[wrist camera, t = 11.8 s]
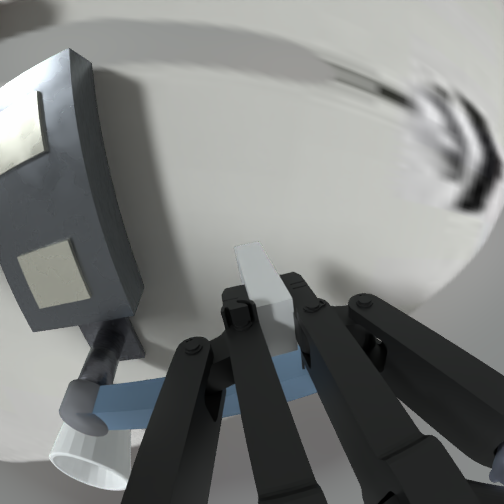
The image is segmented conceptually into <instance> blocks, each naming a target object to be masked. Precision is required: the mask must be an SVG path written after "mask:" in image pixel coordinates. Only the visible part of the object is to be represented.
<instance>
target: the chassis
mask: <svg viewBox="0 0 504 504" xmlns="http://www.w3.org/2000/svg"><path fill="white" fill-rule="evenodd" d="M0 264H1V266H2V269H3V271H4V274H5V276H6V279H7V281H8V283H9V285H10V288H11V290H12V292H13V294H14V296H15V298H16V301H17V303H18V305H19V307H20V309H21V311H22V313H23V314H24V316H25V318H26V320H27V322H28V324H29V326H30V327H31V329H32V331H33V332H38V331H45V330H51V329H58V328H64V327H71V326H77V325H83V324H89V323H95V322H101V321H107V320H112V319H118V318H123V317H129V316H134V315H135V312H136V309H137V306H138V303H139V300H140V298H141V295H142V292H143V289H144V284H143V282H142V279H141V276H140V273H139V271H138V268H137V265H136V262H135V259H134V256H133V253H132V250H131V247H130V244H129V241H128V238H127V234H126V231H125V228H124V224H123V221H122V218H121V214H120V211H119V207H118V203H117V200H116V196H115V192H114V188H113V184H112V180H111V176H110V172H109V167H108V163H107V158H106V154H105V149H104V144H103V139H102V133H101V128H100V122H99V116H98V110H97V103H96V96H95V89H94V80H93V71H92V63H91V62H89V61H88V60H87V59H85V58H84V57H82V56H81V55H79V54H78V53H76V52H74V51H73V50H72V49H70V48H68V49H66V50H64V51H62V52H60V53H58V54H56V55H54V56H52V57H50V58H48V59H46V60H45V61H43V62H41V63H39V64H38V65H36V66H34V67H32V68H31V69H29V70H28V71H26V72H24V73H23V74H21V75H20V76H18V77H16V78H15V79H13V80H12V81H10V82H9V83H7V84H6V85H5V86H3V87H2V88H0Z"/></svg>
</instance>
